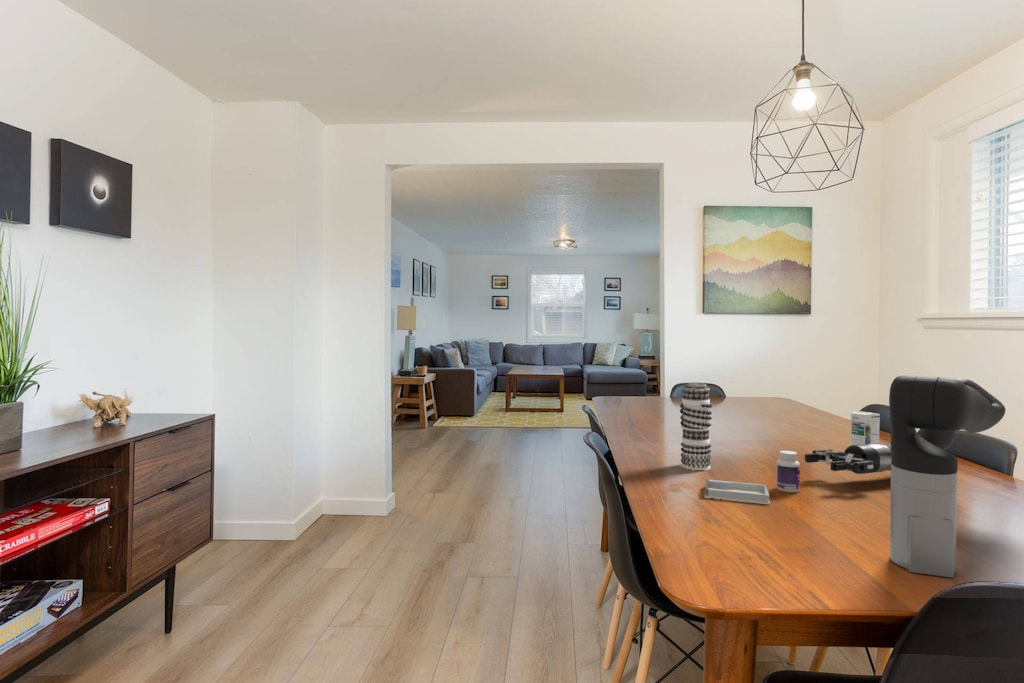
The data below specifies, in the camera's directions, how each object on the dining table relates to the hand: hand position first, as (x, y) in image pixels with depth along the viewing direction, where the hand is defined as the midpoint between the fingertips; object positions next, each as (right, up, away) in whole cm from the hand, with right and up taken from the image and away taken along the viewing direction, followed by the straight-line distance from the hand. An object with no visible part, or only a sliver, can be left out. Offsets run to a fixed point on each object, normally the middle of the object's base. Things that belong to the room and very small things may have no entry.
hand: (818, 462), depth 138 cm
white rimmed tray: (-24, -7, -6) cm, 26 cm away
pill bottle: (-9, -7, -2) cm, 11 cm away
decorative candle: (-25, -6, +20) cm, 33 cm away
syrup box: (+31, -5, +28) cm, 42 cm away
